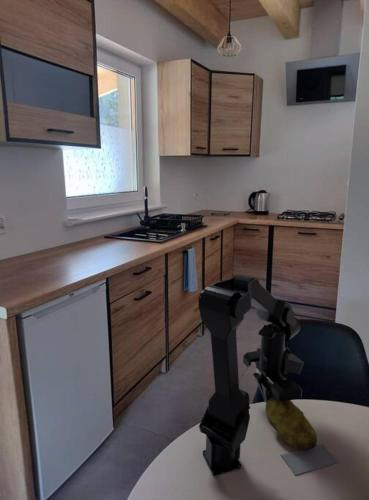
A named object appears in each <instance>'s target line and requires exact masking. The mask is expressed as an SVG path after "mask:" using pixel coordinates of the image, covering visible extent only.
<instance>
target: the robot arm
mask: <svg viewBox="0 0 369 500" xmlns="http://www.w3.org/2000/svg"><path fill="white" fill-rule="evenodd" d="M197 301H198V302H197V304H198V311H199V314H200V319H201V321H202V323H203V325H205V327H206V329H207V330H208V332H209V333H210V342H211V343H210V344H211V353H212V354H211V355H212V369H213V382H214V393H213V394H212V395H211V397H210V398H209V399H208V406H207V407H206V410H205V412H204V414H203V416H202V418H201V420H200V423H199V425H198V428H199V432H200V433H202V434H204V435H205V437H206V438H205V449H204V450H202V455H203V457H204V459H205V462H206V463H207V465H208V468H209V470H210V472H211V474H212V475H213V476H218V475H222V474H225V473H230V472H233V471H236V470H240V469H242V464H241V462H240V461H239V460H240V458H241V444H242V443H244V441H245V440H246V438H247V433H248V428H249V424H250V419H251V418H250V417H251V415H250V410H251V405H250V394H249V393H248V392H247V391H244V390H242V389H240V382H239V381H240V380H239V365H238V364H239V360H238V344H237V343H238V342H237V341H238V339H237V330H238V327H239V326H240V325H241V324H242V323H243V321H244V318H245V315H246V314H247V313H248V312H249V311H250V310H251V309H252V307H254V308H255V309H256V311H255V313H256V316H257V317H258V319H260V320H262V321H263V322H267V323H268V324H264V325H263V327H261V329H259V331H258V332H257V333H258V335H259V336H260V337H261V338H260V348H256V350H255V351H248V352H245V353H244V354H243V356H242V357H243V358H242V363H243V364H244V365H245V366H246V367H247V368H249V367H251V366H252V363H255V367H254V369H255V370H256V371H255V372H254V373H253V374H252V375H253V377H254V379H255V381H256V383H257V386H258V387H259V390H260V392H261V395H262V398H263V401H264V402H265V404H266V403H267V401H268V400H269V399H270V398H272V397H276V398H277V400H278V401H281V402H284V401H289V400H290V401H293V400H297V399H298V400H299V399H302V396H303V388H302V387H301V386H300V385H299V384H298V383H296V381H294V380H293V378H286V375H288V374H289V373H295V374H297V375H300V373H301V371H302V369H303V366H304V364H305V363H304V361H302V360H301V358H299V357H298V356H296V355H295V354H293V353H292V352H291V349H290V348H288V347H287V346H285V343H286V342H288V341H289V340H291V339H292V338H294V337H295V336H296V335H297V334H299V332H300V330H301V323H300V320H299V319H298V318H297V317H295V312H294V311H293V308H292V305H291V303H290V302H288V301H285V300H281V299H279V298H276V297H275V296H273V295H272V294H271V293H270V292H269V290H267V289H266V288H265V286H263V285H262V284H261V283H260V281H259V279H257V278H256V277H254V276H249V275H245V274H241V273H237V274H234V275H232V276H231V277H229V278H227V279H223V280H219V281H216V282H213V283H211V284H210V285H208V286H207V287H205V288H204V289H203V290H202V291H200V293H199V295H198V300H197Z"/></svg>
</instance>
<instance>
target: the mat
mask: <svg viewBox="0 0 369 500" xmlns="http://www.w3.org/2000/svg"><path fill="white" fill-rule="evenodd" d="M280 457H281V458H282V459H283V461H284V462H285V464H286V465H287V466H288V468H289V469H290V470H291V472H292V473H293V474H294V476H298V475H301V474H302V475H303V474H305V473H308V472H312V471H315V470H319V469H322V468H325V467H329V466H332V465H336V464H339V463H340V460H338V459H337V458H336V457H335V456H334V455H333V454H332V452H331V451H329V449H328V448H327V447H326V446H325V445H324V444H323V443H321V444H316V447H314V448H313V449H310V450H303V449H298V450H295V451H291V452H286V453H283V454H280Z"/></svg>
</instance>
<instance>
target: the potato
mask: <svg viewBox="0 0 369 500" xmlns="http://www.w3.org/2000/svg"><path fill="white" fill-rule="evenodd" d="M265 414H266V417H267V419H268V422H269V424H270V425H271V426H272V428H273V429H275V431H276V432H277V435H278V438H280V439H281V440H282V441H283V442H284V443H286V444H287V445H289V446H290V447H293V448H295V449H298V450H301V449H303V450H310V449H313V448H314V447H316V445H318V444H317V443H318V436H317V432H316V431H315V429H314V428H313V426H312V424H311V422H310V421H309V419H308V418H307V417H306V416H305V414H304V412H303V411H302V410H301V409H300V408H299V407H298V406H296V405H295V404H294V403H293V400H289V401H284V402H281V401H278V400H277V398H276V397H275V396H274V397H272V398H270V399H269V400H268V401H267V403H266V402H265Z"/></svg>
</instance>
